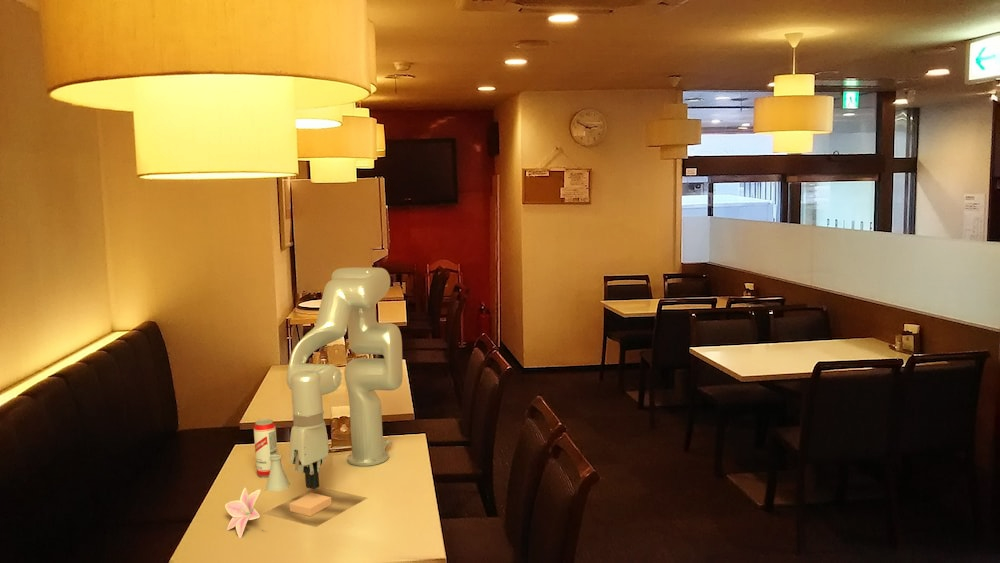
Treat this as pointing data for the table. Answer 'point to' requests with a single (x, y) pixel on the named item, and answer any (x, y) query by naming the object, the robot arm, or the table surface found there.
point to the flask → (276, 475)
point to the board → (338, 506)
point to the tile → (310, 504)
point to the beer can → (264, 445)
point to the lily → (242, 511)
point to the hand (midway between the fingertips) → (312, 487)
